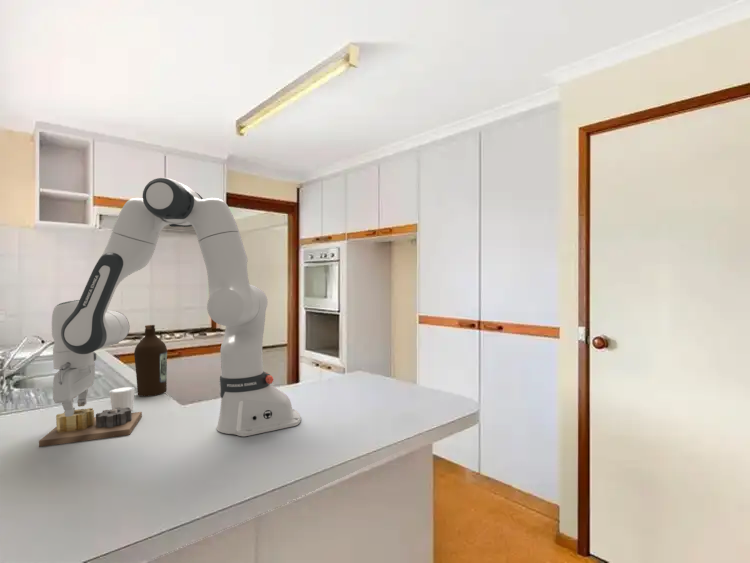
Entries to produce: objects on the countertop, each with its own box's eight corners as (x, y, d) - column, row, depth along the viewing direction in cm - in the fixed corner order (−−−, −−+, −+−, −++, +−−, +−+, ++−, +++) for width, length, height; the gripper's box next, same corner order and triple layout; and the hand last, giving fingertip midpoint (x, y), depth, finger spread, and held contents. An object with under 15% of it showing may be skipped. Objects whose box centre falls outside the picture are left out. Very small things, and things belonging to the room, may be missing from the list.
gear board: (141, 416, 126) (141, 400, 126) (129, 434, 111) (129, 416, 111) (63, 426, 120) (62, 408, 120) (39, 446, 105) (38, 426, 105)
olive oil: (131, 398, 147) (128, 327, 147) (141, 390, 158) (138, 324, 158) (164, 395, 150) (161, 325, 150) (171, 388, 160) (169, 323, 160)
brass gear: (97, 421, 119) (97, 407, 119) (89, 429, 112) (89, 414, 112) (62, 425, 116) (61, 411, 116) (52, 433, 110) (51, 418, 110)
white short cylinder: (123, 415, 129) (122, 392, 129) (104, 414, 130) (103, 391, 130) (140, 408, 135) (139, 386, 135) (122, 407, 137) (121, 386, 137)
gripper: (73, 365, 105) (76, 420, 105) (98, 353, 125) (100, 399, 125) (43, 368, 103) (46, 424, 103) (73, 355, 123) (75, 402, 123)
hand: (76, 410), depth 114 cm, fingers open, 8 cm apart
